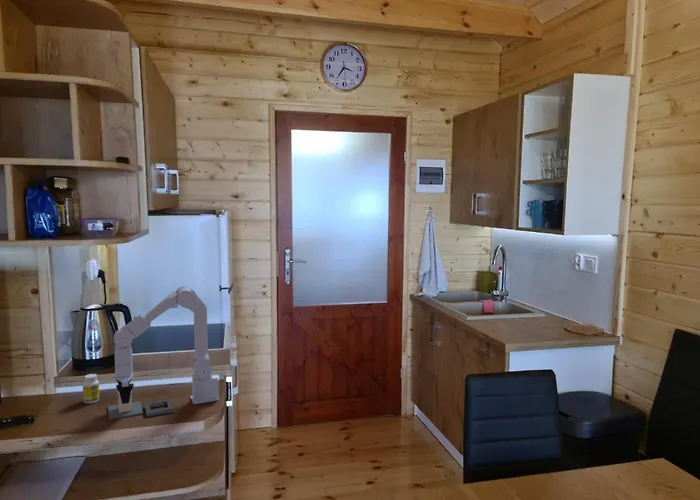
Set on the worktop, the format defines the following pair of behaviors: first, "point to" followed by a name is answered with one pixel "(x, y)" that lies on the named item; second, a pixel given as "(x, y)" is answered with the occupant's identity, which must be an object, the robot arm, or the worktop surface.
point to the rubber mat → (114, 412)
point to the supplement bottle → (90, 389)
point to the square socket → (159, 411)
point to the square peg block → (126, 406)
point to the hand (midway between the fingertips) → (125, 399)
